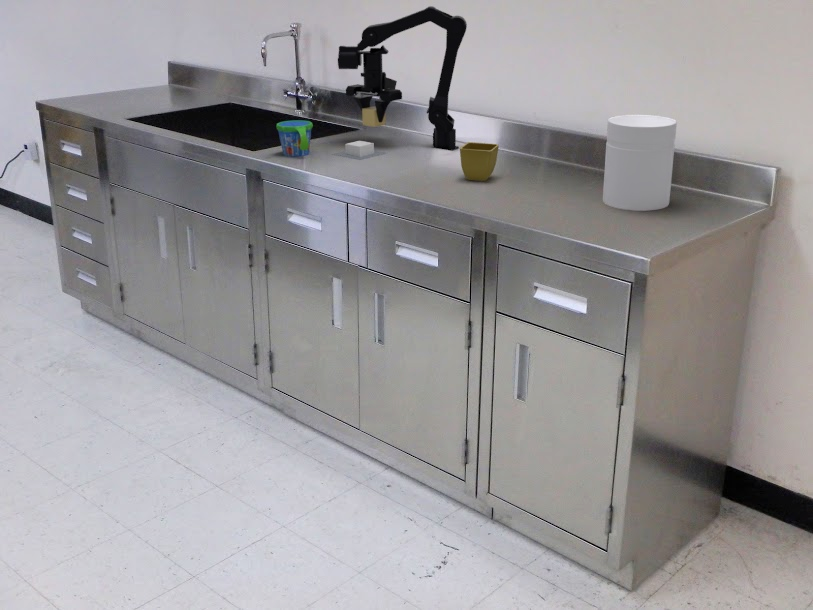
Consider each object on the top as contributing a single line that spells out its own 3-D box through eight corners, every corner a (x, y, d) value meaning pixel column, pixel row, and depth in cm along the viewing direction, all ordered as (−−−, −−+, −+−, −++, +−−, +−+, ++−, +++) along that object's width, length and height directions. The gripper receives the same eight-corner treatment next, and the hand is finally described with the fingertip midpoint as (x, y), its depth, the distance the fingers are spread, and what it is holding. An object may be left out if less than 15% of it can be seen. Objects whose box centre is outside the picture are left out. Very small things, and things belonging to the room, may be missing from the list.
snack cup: (273, 153, 289) (271, 120, 285) (306, 150, 292) (305, 117, 289) (285, 164, 275) (282, 129, 272) (320, 160, 279) (318, 126, 275)
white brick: (374, 153, 283) (373, 143, 282) (360, 156, 279) (359, 146, 277) (359, 150, 286) (359, 140, 285) (345, 153, 282) (345, 143, 281)
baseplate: (388, 156, 283) (388, 152, 283) (360, 163, 275) (360, 159, 275) (359, 150, 291) (359, 147, 290) (331, 157, 282) (331, 154, 282)
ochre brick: (385, 124, 290) (385, 108, 289) (374, 126, 287) (374, 110, 285) (373, 122, 293) (373, 106, 292) (362, 125, 290) (362, 108, 288)
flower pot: (498, 176, 259) (499, 143, 255) (490, 184, 251) (491, 150, 248) (467, 174, 261) (468, 141, 258) (458, 181, 254) (459, 148, 250)
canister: (628, 213, 223) (634, 129, 216) (589, 197, 237) (594, 118, 230) (683, 205, 229) (691, 123, 222) (642, 190, 243) (648, 112, 235)
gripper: (413, 68, 284) (414, 120, 290) (369, 63, 295) (370, 114, 301) (388, 73, 276) (389, 126, 282) (343, 67, 288) (345, 119, 293)
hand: (374, 121), depth 290 cm, fingers closed on ochre brick, 5 cm apart
